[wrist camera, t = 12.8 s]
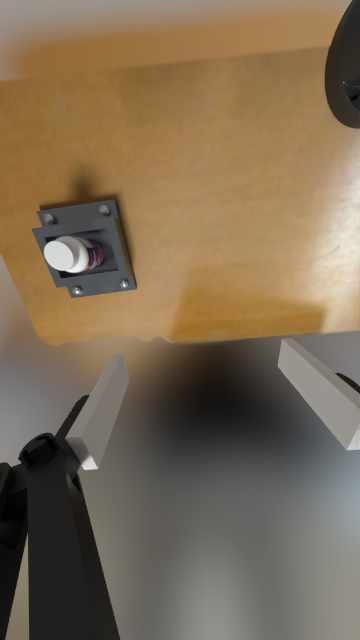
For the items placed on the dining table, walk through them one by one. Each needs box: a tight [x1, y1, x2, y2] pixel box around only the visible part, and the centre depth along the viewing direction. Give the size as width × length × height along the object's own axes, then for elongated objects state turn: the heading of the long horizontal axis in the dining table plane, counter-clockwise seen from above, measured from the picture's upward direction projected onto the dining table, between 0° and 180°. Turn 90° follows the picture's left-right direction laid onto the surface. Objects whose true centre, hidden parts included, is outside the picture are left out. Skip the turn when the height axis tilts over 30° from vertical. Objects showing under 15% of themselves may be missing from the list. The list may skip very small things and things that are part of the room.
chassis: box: [32, 199, 137, 298], centre depth 32 cm, size 16×14×4 cm
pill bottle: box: [44, 236, 103, 273], centre depth 28 cm, size 5×5×10 cm
